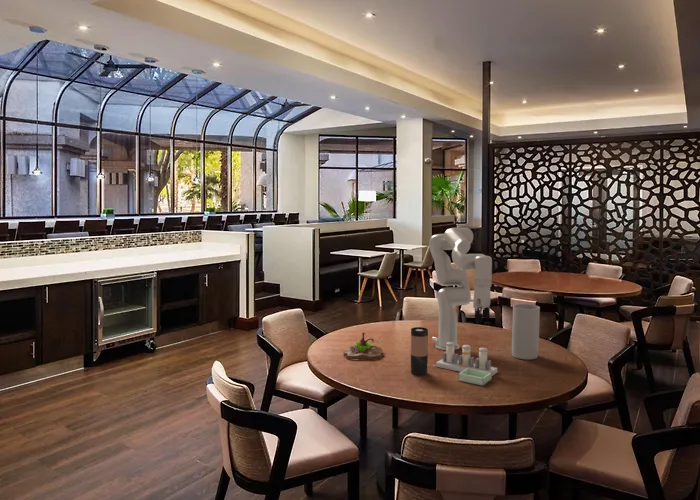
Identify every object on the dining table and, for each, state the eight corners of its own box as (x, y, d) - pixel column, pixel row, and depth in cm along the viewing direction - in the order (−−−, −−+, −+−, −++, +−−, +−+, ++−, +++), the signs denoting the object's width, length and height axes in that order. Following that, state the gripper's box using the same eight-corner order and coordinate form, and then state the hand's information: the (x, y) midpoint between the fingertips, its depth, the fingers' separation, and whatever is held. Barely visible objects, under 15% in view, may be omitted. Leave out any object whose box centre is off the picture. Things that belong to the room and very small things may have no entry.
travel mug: (430, 371, 239) (430, 328, 237) (423, 376, 232) (424, 332, 230) (414, 369, 243) (415, 326, 241) (407, 373, 236) (408, 329, 234)
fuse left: (444, 362, 246) (445, 343, 245) (448, 360, 249) (448, 341, 248) (452, 363, 244) (452, 344, 243) (455, 361, 247) (455, 342, 246)
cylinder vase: (539, 360, 255) (541, 309, 252) (512, 359, 257) (514, 308, 255) (536, 353, 267) (537, 304, 265) (510, 352, 269) (511, 303, 267)
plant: (384, 350, 275) (384, 328, 274) (383, 361, 255) (383, 338, 254) (345, 349, 277) (345, 328, 276) (341, 360, 257) (341, 337, 256)
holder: (435, 366, 246) (436, 354, 246) (444, 361, 253) (444, 349, 253) (489, 377, 231) (489, 364, 230) (497, 372, 238) (497, 359, 237)
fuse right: (477, 368, 237) (477, 349, 236) (480, 366, 240) (481, 347, 239) (485, 370, 235) (485, 350, 234) (488, 368, 238) (488, 348, 237)
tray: (458, 380, 228) (458, 373, 227) (467, 374, 235) (467, 368, 235) (483, 385, 221) (483, 378, 221) (491, 379, 228) (491, 372, 228)
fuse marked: (460, 365, 242) (461, 346, 241) (464, 363, 244) (464, 344, 244) (468, 366, 239) (468, 347, 238) (471, 364, 242) (472, 345, 241)
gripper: (481, 280, 249) (481, 315, 251) (467, 284, 235) (467, 322, 237) (497, 281, 245) (496, 317, 247) (484, 286, 231) (483, 324, 232)
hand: (482, 320), depth 242 cm, fingers open, 9 cm apart
